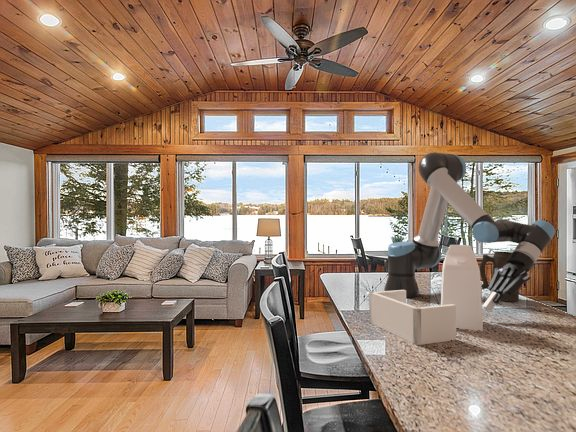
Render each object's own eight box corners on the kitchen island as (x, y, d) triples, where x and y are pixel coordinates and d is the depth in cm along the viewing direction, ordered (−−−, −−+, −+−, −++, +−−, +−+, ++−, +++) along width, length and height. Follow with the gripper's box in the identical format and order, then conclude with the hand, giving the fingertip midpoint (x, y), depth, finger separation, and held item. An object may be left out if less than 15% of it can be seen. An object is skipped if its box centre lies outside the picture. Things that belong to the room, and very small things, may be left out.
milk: (478, 321, 133) (478, 244, 133) (483, 331, 122) (482, 246, 122) (440, 318, 137) (439, 243, 137) (441, 327, 126) (441, 246, 126)
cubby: (369, 322, 133) (369, 292, 133) (403, 318, 137) (403, 289, 137) (416, 345, 109) (416, 309, 109) (456, 339, 113) (456, 305, 113)
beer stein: (513, 297, 171) (513, 250, 171) (525, 302, 160) (525, 253, 160) (476, 296, 172) (476, 250, 172) (486, 302, 162) (486, 253, 161)
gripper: (501, 248, 144) (465, 298, 138) (534, 251, 131) (496, 306, 126) (513, 262, 145) (477, 311, 140) (546, 267, 133) (508, 321, 128)
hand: (486, 309), depth 133 cm, fingers closed
